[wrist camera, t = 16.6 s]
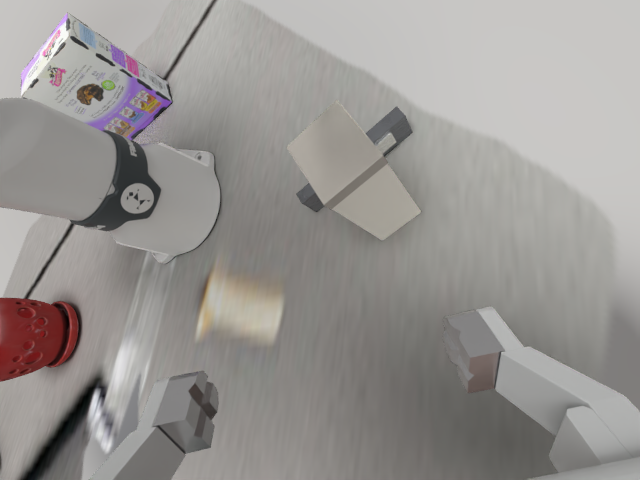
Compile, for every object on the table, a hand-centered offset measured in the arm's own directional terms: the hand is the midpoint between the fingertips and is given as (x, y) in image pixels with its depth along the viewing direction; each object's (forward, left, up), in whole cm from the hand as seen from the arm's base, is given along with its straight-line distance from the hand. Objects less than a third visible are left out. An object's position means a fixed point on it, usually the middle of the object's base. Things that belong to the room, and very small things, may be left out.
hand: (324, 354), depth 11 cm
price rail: (-14, +12, -23) cm, 29 cm away
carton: (-9, +9, -23) cm, 26 cm away
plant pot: (-56, -34, -23) cm, 69 cm away
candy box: (-61, +10, -23) cm, 66 cm away
